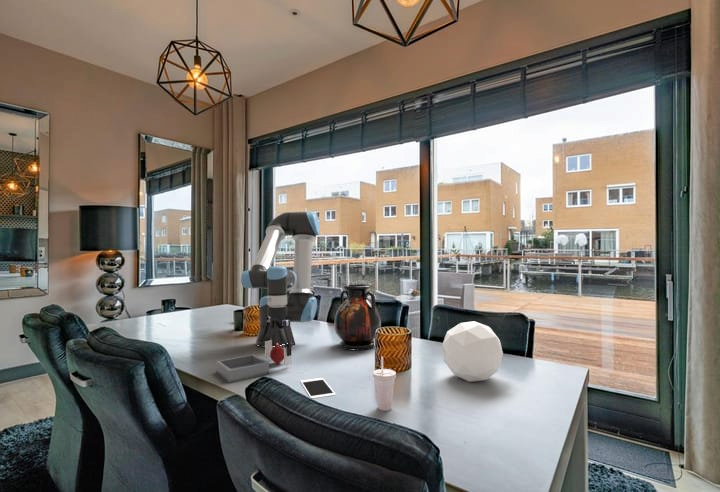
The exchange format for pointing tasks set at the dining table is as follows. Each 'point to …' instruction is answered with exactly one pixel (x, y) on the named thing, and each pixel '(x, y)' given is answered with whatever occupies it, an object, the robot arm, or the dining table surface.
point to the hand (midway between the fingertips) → (277, 360)
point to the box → (242, 368)
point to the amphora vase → (357, 318)
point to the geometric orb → (472, 351)
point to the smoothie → (384, 387)
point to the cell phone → (317, 388)
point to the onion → (277, 354)
